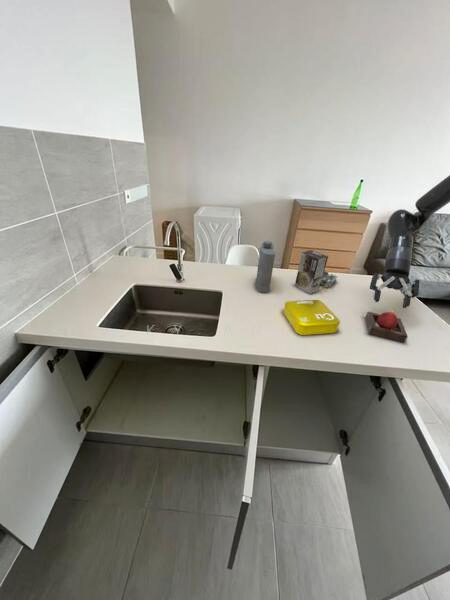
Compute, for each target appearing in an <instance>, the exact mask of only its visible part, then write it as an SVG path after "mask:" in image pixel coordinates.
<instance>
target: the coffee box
mask: <svg viewBox="0 0 450 600" xmlns="http://www.w3.org/2000/svg"><path fill="white" fill-rule="evenodd" d="M299 259H300V260H299V263H298V269H297V274H296V278H295V283H294V286H295V287H297V288H298V289H300V290H302V291H304V292H306V293H308V294H309V295H311V294H314V293H316V292H319V291H320V287H321V285H320V284H321V281H322V277H323V274H324V270H325V271H326V267H327V262H328V259H329V256H328V255H325V254H323V253H320V252H319V251H318V252H317V251H315V250H312V249H310V250H309V249H308V250H306V251H303V252H301V254H300V258H299Z"/></svg>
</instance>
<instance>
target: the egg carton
mask: <svg viewBox="0 0 450 600" xmlns="http://www.w3.org/2000/svg"><path fill="white" fill-rule="evenodd" d="M338 277H339V276H338V275H336V274H333V273H331V274H329V271H326V269H325V270H324V274H323V277H322V281H321V284H320V286H323V287H324V288H332V287H331V286H333V284H334V283H336V280H337V279H338Z"/></svg>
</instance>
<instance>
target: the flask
mask: <svg viewBox="0 0 450 600" xmlns="http://www.w3.org/2000/svg"><path fill="white" fill-rule="evenodd" d="M275 258H276V252H275V250H274V243H273V242H272V241H271V240H264V241H263V242H262V243H261V244H260V247H259V255H258V264H257V270H256V279H255V287H256V289H257V291H258V292H259V293H262V294H264V293H265V294H266V293H269V292H270V288H271V283H272V276H273V269H274V263H275Z"/></svg>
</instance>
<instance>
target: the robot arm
mask: <svg viewBox="0 0 450 600" xmlns="http://www.w3.org/2000/svg"><path fill="white" fill-rule="evenodd" d="M449 203H450V174H449V175H448V176H446V177H445V178H444V179H443V180H441V181H440V182H438V183H437V184H436V185H435V186H433V187H432V188H430V190H428V191H427V192H426V193H424V194H423V195H421V196H420V197H419V198H418V199H417V200H416V201H415V203H414V204H415V208H416V209H417V212H416V213H415V214H414V213H413V212H411V211H409V210H406V209H401V208H399V209H397V210H395V211H394V212H393V213H392V214H391V215H390V216H389V217H388V221H387V231H388V237H389V244H388V249H387V250H388V251H387V253H386V257H385V259H384V260H385V262H384V268H383V274H381V273H379V272H378V271H376V272H375V273H373V274H372V276H371V281H370V283H369V290H372V291H374V294H373V300H374V302H375V303H379V302H380V300H381V296H382V295H381V294H382V290H383V289H384V288H385V287H386V288H387V289H392V290H396V291H399V292H400V293H401V294H402V295H403V300H402V308H403V309H407V308H408V307H410V306H411V299H414V298H416V297H418V296H419V294H420V293H419V292H420V280H419V279H410V271H411V266H412V265H411V264H412V258H413V245H414V237H413V235H412V234H414V233H416V232H417V231H419V230H420V229H421V228H422V227H423V226H424V225H425V223H427V221H429V219H430V218H431V217H432V216H433V215H434V214H435V213H437V212H438V211H440V210H441V209H442V208H444V207H445V206H447V205H448V204H449ZM380 279H381V281H382V283H381V284H380V285H379V286H377V283H378V280H380ZM408 284H409V286H410V287H409V286H408Z"/></svg>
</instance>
